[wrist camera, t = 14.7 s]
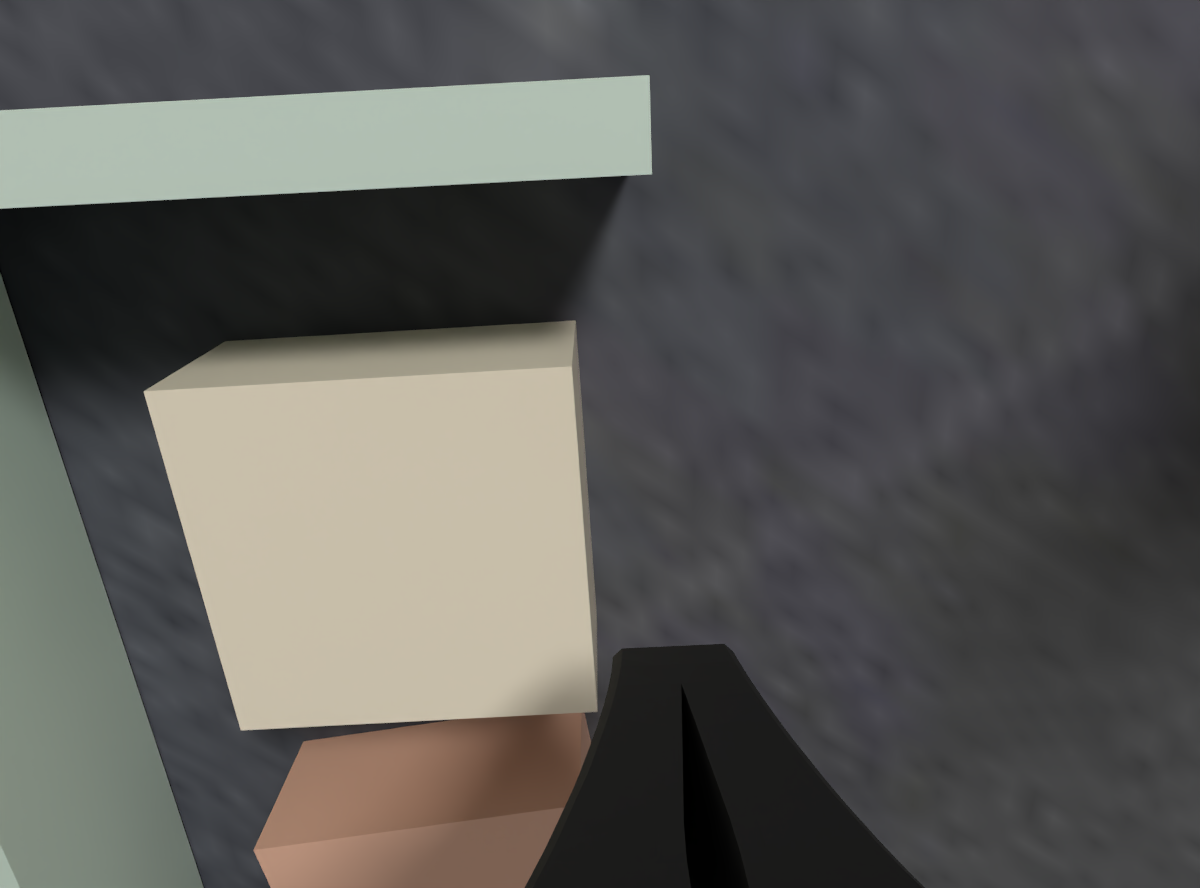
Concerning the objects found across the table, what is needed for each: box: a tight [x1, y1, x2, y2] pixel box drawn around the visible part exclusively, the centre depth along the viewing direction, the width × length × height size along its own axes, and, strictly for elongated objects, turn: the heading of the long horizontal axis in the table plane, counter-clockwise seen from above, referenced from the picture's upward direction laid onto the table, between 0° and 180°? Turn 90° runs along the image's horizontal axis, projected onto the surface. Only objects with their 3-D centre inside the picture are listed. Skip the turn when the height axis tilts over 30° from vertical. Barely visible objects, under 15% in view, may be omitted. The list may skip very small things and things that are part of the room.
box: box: [0, 75, 652, 888], centre depth 15 cm, size 22×12×4 cm, turn 3°
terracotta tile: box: [254, 713, 591, 888], centre depth 17 cm, size 6×6×3 cm
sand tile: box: [144, 321, 597, 730], centre depth 14 cm, size 6×6×3 cm
